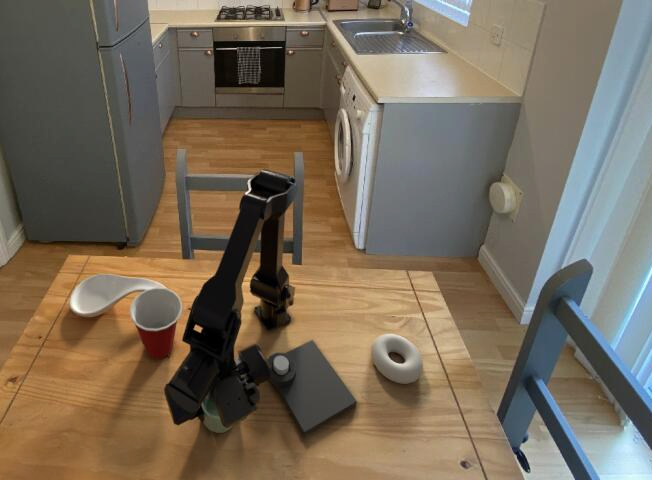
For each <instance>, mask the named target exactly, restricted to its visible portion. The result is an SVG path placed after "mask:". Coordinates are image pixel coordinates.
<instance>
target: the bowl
mask: <svg viewBox="0 0 652 480" xmlns="http://www.w3.org/2000/svg"><path fill="white" fill-rule="evenodd" d="M201 407H202V409H203V412H204V414H203V415H204V422H203V424H204V426H205V427H206V428H207V429H208V430H209V431H211V432H214V433H215V434H220V433H221V434H222V433H225V432H228V431H230V430H231V429H232V428H233V427H234V425H233V426H231V427H229V428H225V427H224V426H223V425H222V423H221V419H220V416H219V413H218V411H217V408H216V405H215V402H213V400H212V401H210V399H209V397H207V398H205V399H204V401H203V402H202V404H201Z"/></svg>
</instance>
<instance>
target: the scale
mask: <svg viewBox="0 0 652 480" xmlns="http://www.w3.org/2000/svg"><path fill="white" fill-rule="evenodd" d="M277 356H284V357H285V358H287V360H288V362H289V368H288V372H287V373H286V374H285V375H278V374H277V373H276V372H275V371H274V368H273V364H274V359H275V358H276V357H277ZM266 360H267V361H268V363H269V365H270V368H271V375H270V379H269V380H268V382H270V383H271V384H273V385H274V387H275V389H276V390H277V392H278V394H279V396H280V398H281V399H282V401H283V403H284V405H285V406H286V408H287V410H288V412H289V413H290V415H291V417H292V418H293V420H294V422H295V424H296V426H297V427H298V429H299V431H300V433H301V435H302V436H303V437H307V436H308V435H310V434H311V433H313V432H315V431H316V430H318V429H320V428H322V427H323V426H325V425H327V424H328V423H330V422H331V421H333V420H335V419H337V418H338V417H340V416H343V414H345V413H347V412H348V411H350V410H352V409H353V408H355V407H357V403H358V401H357V399H356V398H355V397H354V395H353V394H352V392H351V391H350V390H349V388H348V387H347V386H346V383H344V382H343V380H342V379H341V377H340V376H339V374H338V373H337V372H336V370H335V369H334V367H333V366H332V365H331V363H330V362H329V360H328V359H327V358H326V356H325V354H324V353H323V352H322V351H321V349H320V348H319V347H318V345H317V343H316V342H315V341H314V340H313V339H311V340H309V341H307V342H305V343H303V344H301V345H299V346H297V347H295V348H293V349H291V350H289V351H286V352H274V353H273V354H271V355H269V356H268V358H267V359H266Z"/></svg>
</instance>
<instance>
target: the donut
mask: <svg viewBox="0 0 652 480" xmlns="http://www.w3.org/2000/svg"><path fill="white" fill-rule="evenodd" d="M370 349H371V352H370V355H371V359H372V363H373V364H374V366H375V367H376V369H377V371H378V372H379V373H380V374H381V375H382V376H383V377H384V378H386V379H388V380H390V381H391V382H394V383H397V384H403V385H405V384H406V385H408V384H411V383H414V382H416V381H417V380H418V379H419V378H420V377H421V376H422V373H423V370H424V362H423V358H422V356H421V353H420V351H419V350H418V348H417V347H416V345H415V344H413V342H411V341H410V340H409V339H407V338H405V337H403V336H401V335H399V334H395V333H384V334H381V335H379V336H378V337H377V338H375V339H374V341H373V343H372V345H371V348H370ZM390 353H397V354H399V355H400V356H401V357H402V358H403V359H404V362H403V363H398V362H395V361H394V360H393V359H391V358H390V357H389V354H390Z"/></svg>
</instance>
